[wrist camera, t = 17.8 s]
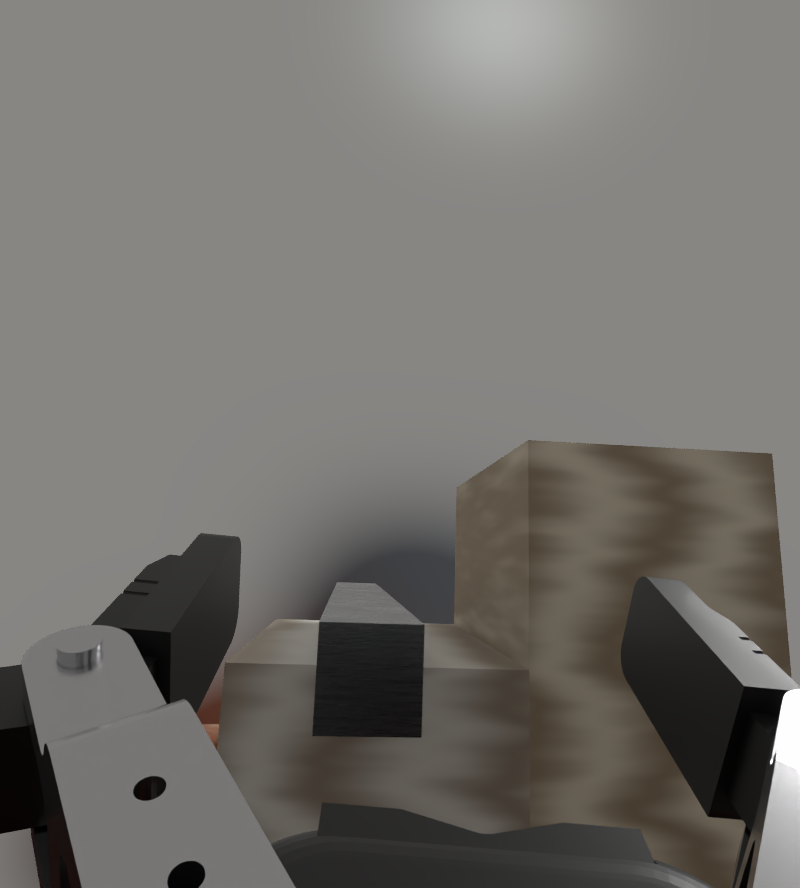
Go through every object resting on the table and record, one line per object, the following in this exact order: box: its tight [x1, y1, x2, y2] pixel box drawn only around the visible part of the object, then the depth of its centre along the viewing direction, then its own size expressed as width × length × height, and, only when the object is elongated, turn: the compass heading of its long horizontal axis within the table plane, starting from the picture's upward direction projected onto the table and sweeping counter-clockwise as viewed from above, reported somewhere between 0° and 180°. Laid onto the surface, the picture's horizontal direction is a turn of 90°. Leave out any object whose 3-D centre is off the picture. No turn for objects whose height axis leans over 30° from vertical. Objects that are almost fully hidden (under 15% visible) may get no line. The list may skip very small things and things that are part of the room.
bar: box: [312, 582, 425, 738], centre depth 31 cm, size 3×30×3 cm, turn 5°
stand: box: [217, 440, 791, 888], centre depth 36 cm, size 27×20×32 cm
